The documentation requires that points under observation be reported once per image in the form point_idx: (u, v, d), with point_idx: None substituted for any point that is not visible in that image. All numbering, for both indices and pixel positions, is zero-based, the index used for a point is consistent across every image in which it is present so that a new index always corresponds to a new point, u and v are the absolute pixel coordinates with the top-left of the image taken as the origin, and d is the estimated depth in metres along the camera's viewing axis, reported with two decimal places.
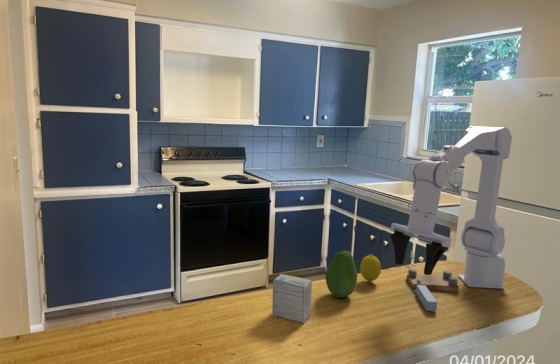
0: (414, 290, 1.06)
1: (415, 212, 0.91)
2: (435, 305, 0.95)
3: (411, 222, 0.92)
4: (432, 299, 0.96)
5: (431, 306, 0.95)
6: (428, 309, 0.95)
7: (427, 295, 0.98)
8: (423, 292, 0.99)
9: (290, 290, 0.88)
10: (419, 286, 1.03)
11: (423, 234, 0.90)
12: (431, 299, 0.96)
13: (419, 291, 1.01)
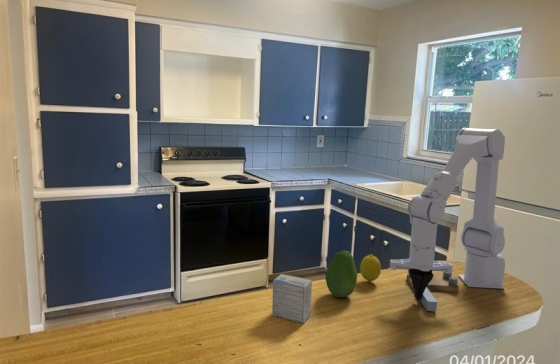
0: None
1: (424, 250, 0.95)
2: (435, 305, 0.95)
3: (421, 260, 0.95)
4: (432, 299, 0.96)
5: (431, 306, 0.95)
6: (428, 309, 0.95)
7: (427, 295, 0.98)
8: None
9: (290, 290, 0.88)
10: None
11: (433, 267, 0.96)
12: (431, 299, 0.96)
13: None
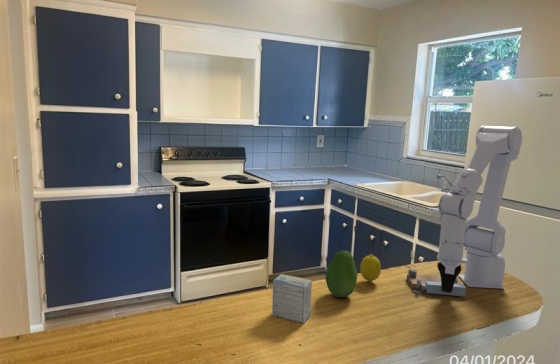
0: (414, 290, 1.06)
1: (463, 243, 1.00)
2: None
3: (462, 253, 1.00)
4: (460, 285, 1.05)
5: None
6: None
7: None
8: None
9: (290, 290, 0.88)
10: (430, 284, 1.05)
11: None
12: (460, 285, 1.05)
13: (438, 287, 1.04)
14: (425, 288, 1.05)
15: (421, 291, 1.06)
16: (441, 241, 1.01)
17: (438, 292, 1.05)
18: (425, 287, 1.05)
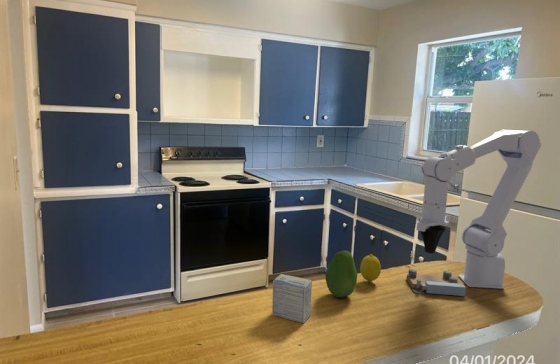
0: (414, 290, 1.06)
1: (444, 206, 1.04)
2: None
3: (442, 215, 1.04)
4: (459, 284, 1.05)
5: None
6: None
7: (452, 284, 1.05)
8: (446, 285, 1.04)
9: (290, 290, 0.88)
10: (430, 283, 1.05)
11: (445, 220, 1.07)
12: (460, 285, 1.05)
13: (438, 287, 1.04)
14: (425, 288, 1.05)
15: (421, 291, 1.06)
16: (423, 202, 1.06)
17: (438, 292, 1.05)
18: (425, 287, 1.05)
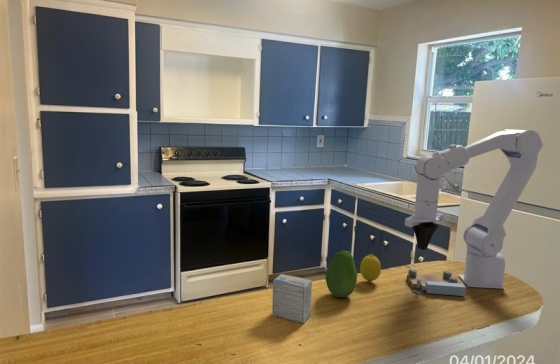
0: (414, 290, 1.06)
1: (435, 203, 1.06)
2: None
3: (432, 213, 1.07)
4: (459, 284, 1.05)
5: None
6: None
7: (452, 284, 1.05)
8: (446, 285, 1.04)
9: (290, 290, 0.88)
10: (430, 283, 1.05)
11: (437, 218, 1.09)
12: (460, 285, 1.05)
13: (438, 287, 1.04)
14: (425, 288, 1.05)
15: (421, 291, 1.06)
16: None
17: (438, 292, 1.05)
18: (425, 287, 1.05)
